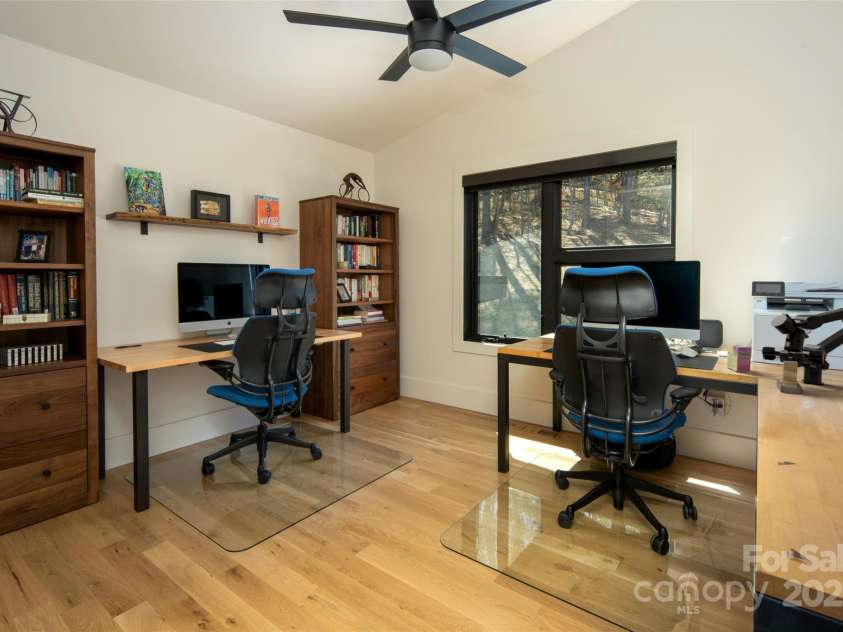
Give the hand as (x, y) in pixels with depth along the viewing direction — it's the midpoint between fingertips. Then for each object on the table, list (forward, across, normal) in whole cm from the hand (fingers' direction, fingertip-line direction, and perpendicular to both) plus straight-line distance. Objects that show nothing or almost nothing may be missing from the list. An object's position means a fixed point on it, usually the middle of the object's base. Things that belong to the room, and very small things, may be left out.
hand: (788, 372), depth 178 cm
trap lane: (+6, 0, -4) cm, 7 cm away
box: (-17, +23, -27) cm, 39 cm away
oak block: (+5, -1, -2) cm, 5 cm away
